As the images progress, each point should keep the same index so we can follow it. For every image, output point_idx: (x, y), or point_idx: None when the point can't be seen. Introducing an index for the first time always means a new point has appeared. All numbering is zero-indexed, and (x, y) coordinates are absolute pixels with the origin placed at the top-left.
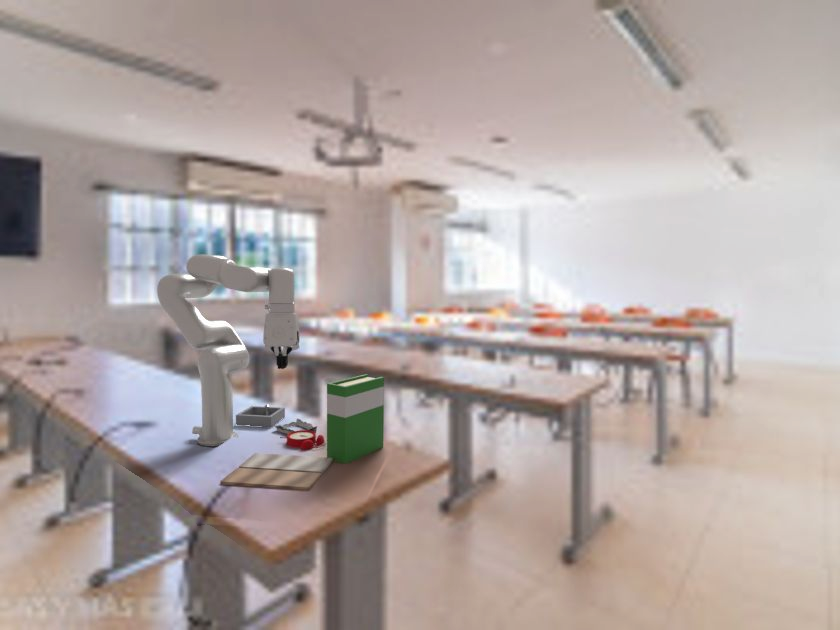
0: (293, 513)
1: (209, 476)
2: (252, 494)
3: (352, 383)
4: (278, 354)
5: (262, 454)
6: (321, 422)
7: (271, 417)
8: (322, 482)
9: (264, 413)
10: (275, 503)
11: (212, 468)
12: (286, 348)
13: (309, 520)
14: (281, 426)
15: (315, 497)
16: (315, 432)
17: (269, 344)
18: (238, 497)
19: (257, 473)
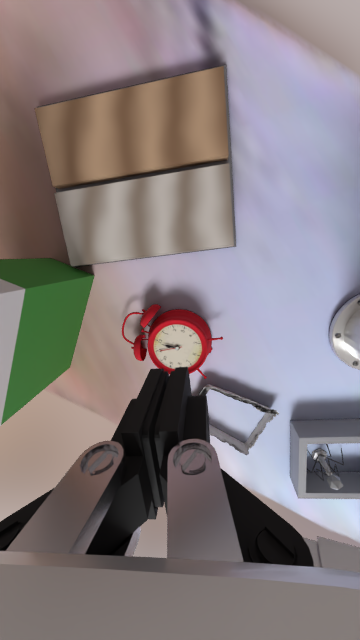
0: (27, 25)
1: (282, 132)
2: (144, 78)
3: None
4: (170, 453)
5: (213, 243)
6: None
7: (298, 437)
8: None
9: (335, 472)
10: (81, 55)
11: (299, 176)
12: (16, 540)
13: None
14: (260, 410)
15: (30, 111)
16: None
17: (341, 616)
18: (163, 52)
19: (169, 140)
